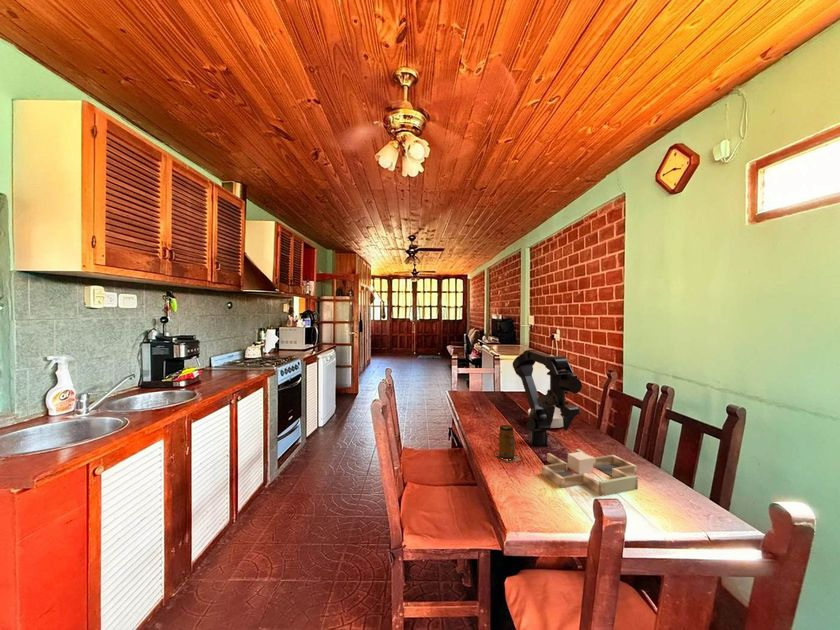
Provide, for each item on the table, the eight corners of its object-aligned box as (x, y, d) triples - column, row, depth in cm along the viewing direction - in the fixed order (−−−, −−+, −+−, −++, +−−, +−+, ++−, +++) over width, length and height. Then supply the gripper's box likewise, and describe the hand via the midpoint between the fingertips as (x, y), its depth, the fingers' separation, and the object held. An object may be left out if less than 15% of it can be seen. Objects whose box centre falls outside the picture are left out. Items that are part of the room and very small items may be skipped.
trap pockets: (542, 474, 127) (542, 465, 127) (613, 462, 137) (613, 454, 136) (561, 488, 117) (561, 478, 117) (637, 474, 127) (637, 465, 127)
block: (567, 467, 133) (567, 453, 133) (581, 465, 135) (581, 451, 135) (579, 474, 128) (579, 460, 127) (593, 471, 129) (593, 458, 129)
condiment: (509, 452, 147) (509, 423, 147) (521, 460, 139) (521, 429, 139) (493, 454, 145) (493, 425, 145) (505, 463, 137) (505, 431, 137)
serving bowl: (523, 419, 192) (523, 406, 192) (563, 419, 191) (562, 406, 191) (534, 432, 171) (534, 417, 171) (579, 432, 170) (579, 417, 170)
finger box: (547, 461, 138) (547, 450, 138) (578, 456, 142) (578, 446, 142) (601, 495, 112) (601, 483, 112) (637, 488, 116) (637, 476, 116)
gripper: (526, 384, 149) (526, 421, 150) (555, 394, 132) (555, 437, 132) (549, 382, 153) (549, 419, 153) (580, 392, 135) (580, 433, 135)
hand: (557, 426), depth 143 cm, fingers open, 9 cm apart
